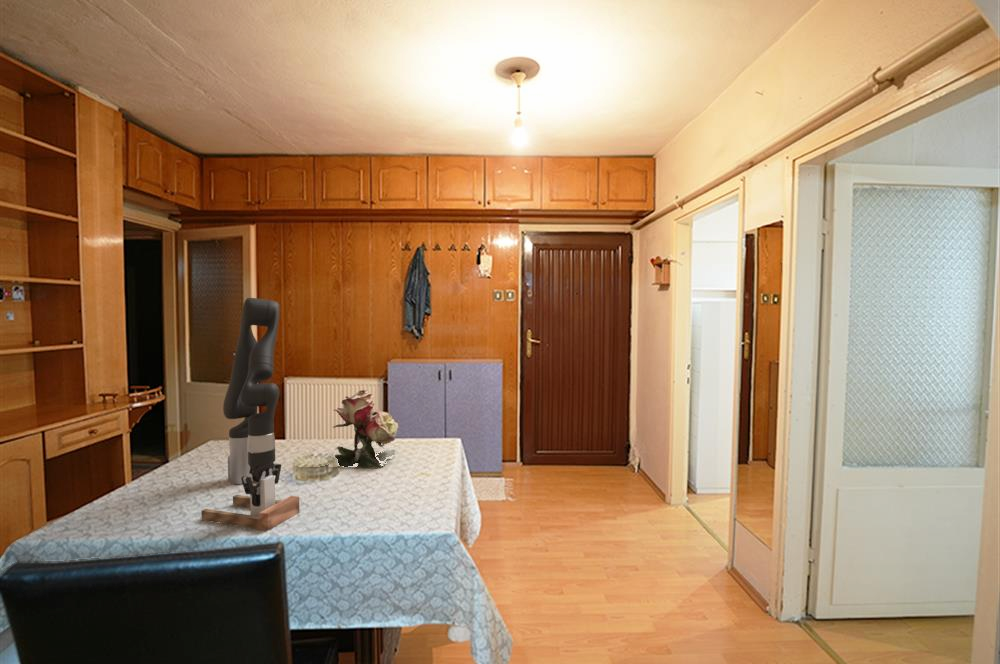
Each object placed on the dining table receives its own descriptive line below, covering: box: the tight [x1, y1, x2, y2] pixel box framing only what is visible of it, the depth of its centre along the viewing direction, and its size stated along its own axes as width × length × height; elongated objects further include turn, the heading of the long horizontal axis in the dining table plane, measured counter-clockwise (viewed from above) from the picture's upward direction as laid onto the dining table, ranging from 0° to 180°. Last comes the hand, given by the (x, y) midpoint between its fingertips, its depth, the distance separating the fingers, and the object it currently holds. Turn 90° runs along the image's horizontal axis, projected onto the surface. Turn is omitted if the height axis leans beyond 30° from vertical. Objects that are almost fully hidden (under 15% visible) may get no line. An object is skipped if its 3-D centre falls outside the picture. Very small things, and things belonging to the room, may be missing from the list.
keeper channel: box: [200, 494, 300, 531], centre depth 144 cm, size 25×13×5 cm, turn 74°
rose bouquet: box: [332, 389, 399, 469], centre depth 201 cm, size 26×29×30 cm
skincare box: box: [249, 475, 276, 517], centre depth 143 cm, size 6×4×12 cm
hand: (262, 502), depth 143 cm, fingers closed on skincare box, 4 cm apart
